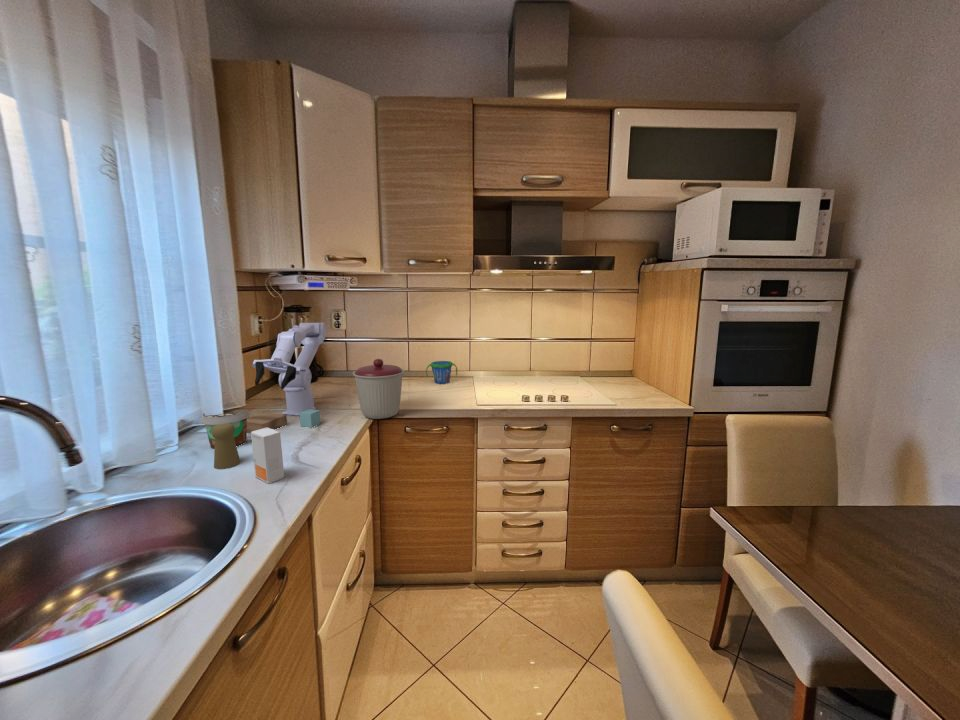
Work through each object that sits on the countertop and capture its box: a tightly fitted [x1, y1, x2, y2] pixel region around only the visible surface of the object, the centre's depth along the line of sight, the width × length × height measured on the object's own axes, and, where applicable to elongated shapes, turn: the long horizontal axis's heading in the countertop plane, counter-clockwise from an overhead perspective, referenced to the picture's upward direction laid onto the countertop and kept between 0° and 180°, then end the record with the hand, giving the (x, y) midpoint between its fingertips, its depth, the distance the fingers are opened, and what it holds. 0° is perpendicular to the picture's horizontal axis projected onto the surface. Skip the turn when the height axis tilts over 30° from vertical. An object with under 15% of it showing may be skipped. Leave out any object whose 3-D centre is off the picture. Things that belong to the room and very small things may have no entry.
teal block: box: [299, 409, 322, 429], centre depth 135 cm, size 4×4×5 cm
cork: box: [212, 423, 241, 470], centre depth 104 cm, size 6×6×11 cm
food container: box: [200, 409, 250, 450], centre depth 116 cm, size 12×6×10 cm, turn 105°
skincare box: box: [250, 428, 285, 485], centre depth 96 cm, size 6×4×12 cm
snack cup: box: [425, 360, 458, 385], centre depth 197 cm, size 16×10×10 cm
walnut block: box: [247, 411, 288, 434], centre depth 132 cm, size 10×10×4 cm
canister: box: [352, 358, 405, 420], centre depth 145 cm, size 18×18×21 cm
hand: (269, 385), depth 127 cm, fingers open, 7 cm apart
